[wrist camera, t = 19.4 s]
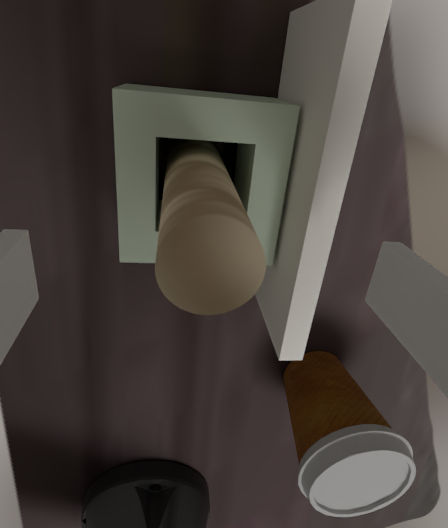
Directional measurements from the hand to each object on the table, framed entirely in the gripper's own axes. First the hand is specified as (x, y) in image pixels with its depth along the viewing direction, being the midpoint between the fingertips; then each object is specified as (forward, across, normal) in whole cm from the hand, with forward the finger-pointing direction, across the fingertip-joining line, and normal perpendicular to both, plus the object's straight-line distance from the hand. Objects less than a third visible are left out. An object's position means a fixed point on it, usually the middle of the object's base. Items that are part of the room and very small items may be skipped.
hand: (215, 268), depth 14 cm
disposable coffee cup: (+16, +14, -21) cm, 29 cm away
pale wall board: (+15, +6, +1) cm, 17 cm away
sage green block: (+15, 0, +1) cm, 15 cm away
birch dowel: (+15, 0, +1) cm, 15 cm away
